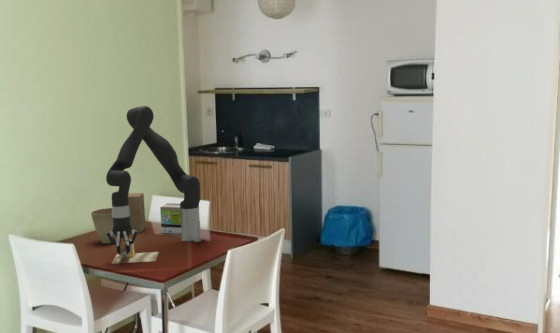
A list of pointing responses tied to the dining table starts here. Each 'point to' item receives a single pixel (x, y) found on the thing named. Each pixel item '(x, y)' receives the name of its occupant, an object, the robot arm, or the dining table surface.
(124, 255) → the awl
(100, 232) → the plant pot
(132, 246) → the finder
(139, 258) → the panel
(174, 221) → the tea box
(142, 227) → the wooden block
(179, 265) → the dining table surface
